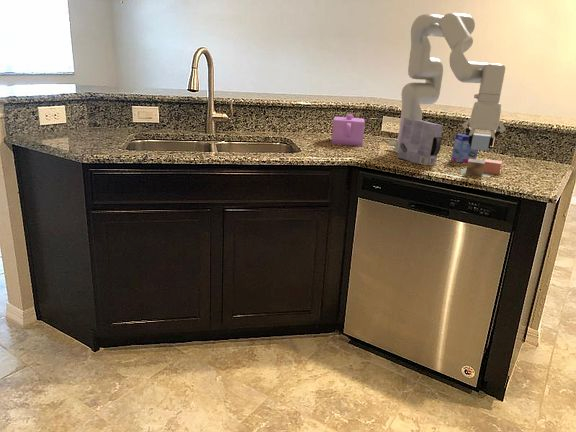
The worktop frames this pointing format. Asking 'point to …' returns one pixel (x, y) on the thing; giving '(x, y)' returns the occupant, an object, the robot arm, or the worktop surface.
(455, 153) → the ink cartridge box
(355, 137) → the teapot
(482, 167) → the block walnut
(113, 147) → the worktop surface
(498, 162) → the block red
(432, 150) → the cake pan box
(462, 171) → the baseplate
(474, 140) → the block blue
